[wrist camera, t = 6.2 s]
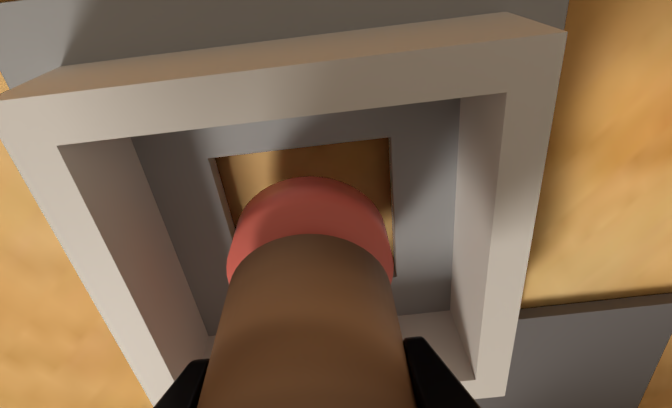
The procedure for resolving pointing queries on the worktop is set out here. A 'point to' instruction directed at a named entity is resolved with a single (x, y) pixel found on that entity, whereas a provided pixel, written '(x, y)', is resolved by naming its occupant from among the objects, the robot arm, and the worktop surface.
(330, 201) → the button
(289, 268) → the dowel
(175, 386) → the robot arm
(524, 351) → the pad
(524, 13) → the grey square tray
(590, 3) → the worktop surface
